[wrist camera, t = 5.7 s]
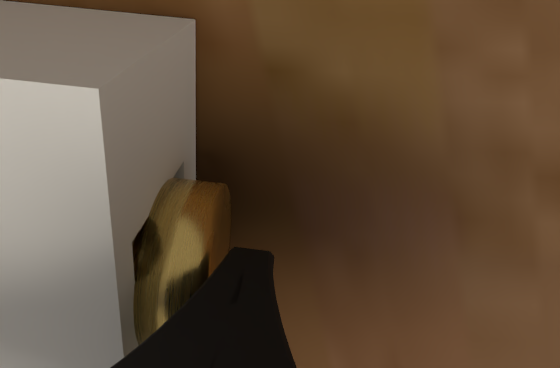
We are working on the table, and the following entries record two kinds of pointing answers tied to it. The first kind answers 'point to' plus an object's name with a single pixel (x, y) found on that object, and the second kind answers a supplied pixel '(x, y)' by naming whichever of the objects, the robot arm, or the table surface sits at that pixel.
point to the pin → (178, 249)
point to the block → (84, 171)
